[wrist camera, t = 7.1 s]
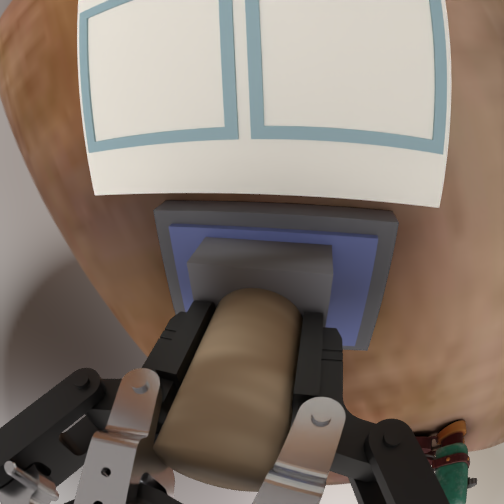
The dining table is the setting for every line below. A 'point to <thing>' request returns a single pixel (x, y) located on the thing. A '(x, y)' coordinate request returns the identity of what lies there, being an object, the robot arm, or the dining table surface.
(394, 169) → the form board
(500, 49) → the dining table surface
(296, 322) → the stamp
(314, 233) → the ink pad
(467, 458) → the binoculars
